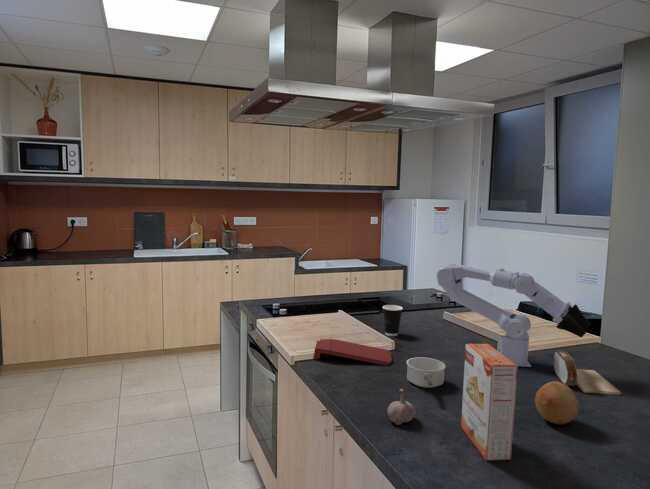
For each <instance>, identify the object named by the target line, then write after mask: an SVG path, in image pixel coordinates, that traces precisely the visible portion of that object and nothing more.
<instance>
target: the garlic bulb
mask: <svg viewBox="0 0 650 489" xmlns="http://www.w3.org/2000/svg"><path fill="white" fill-rule="evenodd" d="M398 391H399V397H400V398H399V401H398V400H396V401H392V402H391V403H390V404H389V405H388V407H387V410H386V413H387V416H388V418H389V420H390V421H391V422H393V423H394V424H395V425H398V426H400V425H402V424H403V423H408V422H411V421H412V420H413V419H414V417H415V415H416V407H415V405H414V404H412V403H411V402H408V401H406V400H405V391H404V388H400V389H399V390H398Z"/></svg>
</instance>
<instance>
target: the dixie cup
mask: <svg viewBox="0 0 650 489" xmlns="http://www.w3.org/2000/svg"><path fill="white" fill-rule="evenodd" d="M403 308H404V307H402V306H401V305H395V304H385V305H383V306H382V310H383V313H382V314H383V327H384V333H385V334H384V335H386V336H387V337H398V335H399V334H398V333H399V329H400V325H401V318H402V312H403Z"/></svg>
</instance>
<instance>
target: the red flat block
mask: <svg viewBox="0 0 650 489" xmlns="http://www.w3.org/2000/svg"><path fill="white" fill-rule="evenodd" d="M321 354H325V355H332V356H336V357H341V358H347V359H350V360H351V359H352V360H357V361H361V362H366V363H371V364H374V365H375V364H376V365H380V366H389V365H391V364H392V363H393V359H392V355H391V352H390V351H388V350H387V349H385V348H381V347H375V346H370V345H365V344H360V343H356V342H355V343H354V342H350V341H345V340H341V339H336V338H335V339H334V338H324V339H323V338H322V339H320V340H316V343H315V348H314V352H313V359H312V360H320V357H321Z"/></svg>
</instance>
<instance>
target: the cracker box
mask: <svg viewBox="0 0 650 489" xmlns="http://www.w3.org/2000/svg"><path fill="white" fill-rule="evenodd" d="M518 368H519V366H517V365H516V364H514V363H513V362H512V361H510V360H509V359H508V358H506V357H505V356H504V355H502V354H501V353H500V352H498V351H497V348H494V347H493V346H492V345H491V344H489V343H466V344H465V352H464V368H463V369H464V370H463V371H464V372H463V385H462V386H463V388H462V404H461V406H462V407H461V422H460V428H461V429H462V430H463V432H464V433H465V434H466V435H467V437H468V438H469V440H470V441H471V443H472V445H474V446H475V448H476V449H477V451H478V452H479V453H480V454H481V456H482V457H483V459H484V461H486V462H489V461H511V460H512V450H513V437H514V436H513V435H514V421H515V409H516V408H515V406H516V394H517V393H516V392H517V381H518V380H517V379H518Z"/></svg>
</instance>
